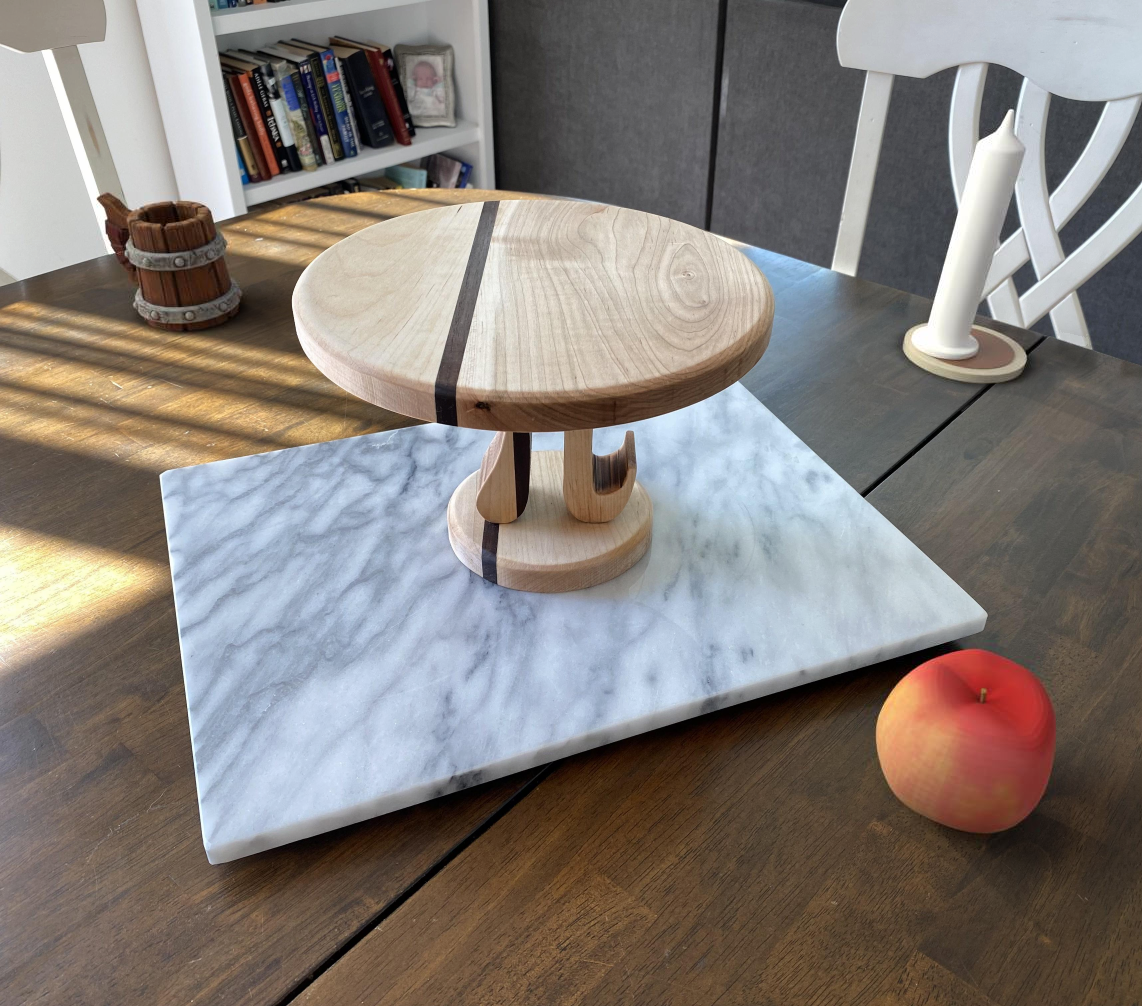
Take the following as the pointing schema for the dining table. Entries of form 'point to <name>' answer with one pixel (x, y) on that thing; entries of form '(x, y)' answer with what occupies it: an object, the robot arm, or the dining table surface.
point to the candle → (973, 245)
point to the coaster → (974, 358)
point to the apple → (968, 741)
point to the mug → (173, 262)
